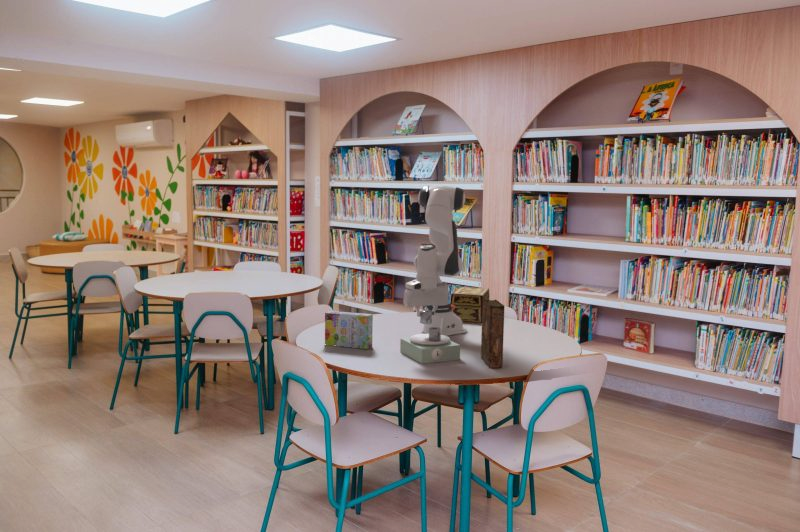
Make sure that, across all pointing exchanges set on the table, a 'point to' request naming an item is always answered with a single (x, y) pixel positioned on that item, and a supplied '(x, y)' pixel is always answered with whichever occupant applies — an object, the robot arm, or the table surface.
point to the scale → (429, 349)
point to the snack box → (348, 329)
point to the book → (492, 333)
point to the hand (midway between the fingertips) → (425, 315)
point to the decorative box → (469, 303)
